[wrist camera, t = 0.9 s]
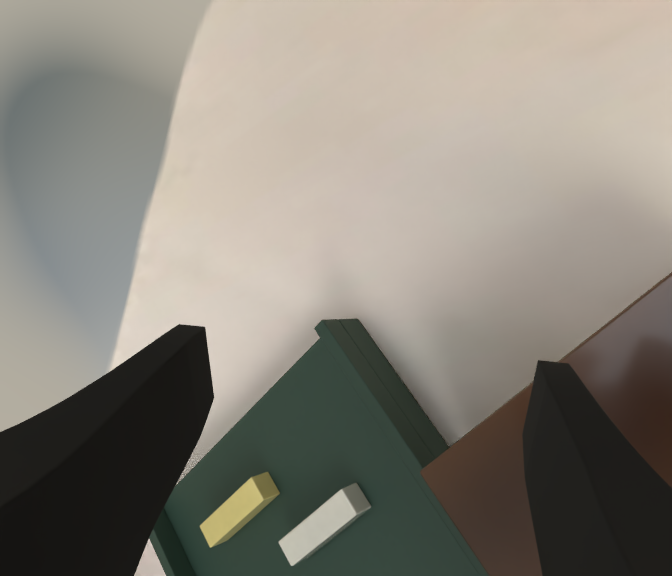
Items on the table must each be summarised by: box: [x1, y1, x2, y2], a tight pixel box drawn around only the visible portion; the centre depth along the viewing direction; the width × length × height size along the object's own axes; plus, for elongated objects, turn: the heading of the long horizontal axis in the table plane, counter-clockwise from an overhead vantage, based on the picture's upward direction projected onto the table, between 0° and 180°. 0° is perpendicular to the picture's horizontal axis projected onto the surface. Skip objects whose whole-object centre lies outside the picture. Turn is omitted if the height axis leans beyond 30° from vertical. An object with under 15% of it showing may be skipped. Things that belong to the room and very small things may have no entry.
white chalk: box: [279, 483, 371, 566], centre depth 26 cm, size 1×4×1 cm, turn 131°
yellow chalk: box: [200, 472, 280, 548], centre depth 29 cm, size 1×4×1 cm, turn 130°
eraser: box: [420, 272, 672, 576], centre depth 20 cm, size 5×11×5 cm, turn 130°
